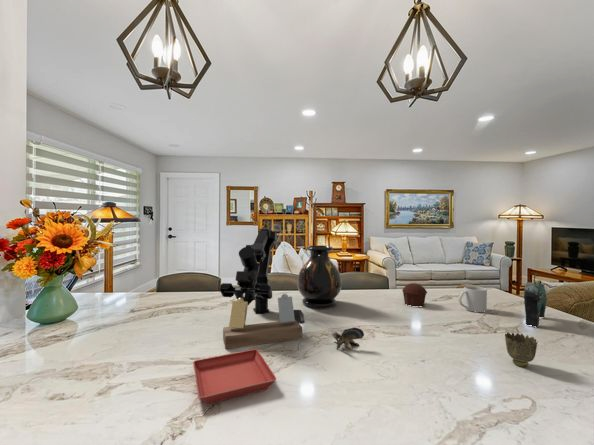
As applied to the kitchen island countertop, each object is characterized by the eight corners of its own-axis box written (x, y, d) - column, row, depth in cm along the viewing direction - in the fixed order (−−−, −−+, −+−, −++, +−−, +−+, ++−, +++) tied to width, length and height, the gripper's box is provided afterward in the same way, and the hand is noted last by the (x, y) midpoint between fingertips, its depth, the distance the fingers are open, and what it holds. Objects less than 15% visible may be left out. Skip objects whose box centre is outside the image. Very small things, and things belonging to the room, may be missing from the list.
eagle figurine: (349, 353, 88) (369, 340, 93) (337, 330, 91) (357, 319, 96) (336, 357, 94) (356, 345, 99) (326, 336, 97) (345, 325, 102)
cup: (539, 374, 79) (539, 344, 79) (505, 367, 83) (506, 338, 83) (534, 363, 85) (535, 335, 85) (503, 356, 89) (504, 330, 89)
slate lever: (279, 323, 104) (276, 294, 108) (293, 321, 106) (289, 293, 110) (281, 322, 102) (278, 293, 106) (295, 320, 104) (291, 292, 108)
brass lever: (230, 327, 100) (235, 297, 104) (245, 328, 99) (248, 298, 103) (228, 327, 98) (233, 296, 102) (242, 327, 97) (247, 297, 101)
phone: (301, 309, 131) (304, 321, 116) (301, 312, 131) (303, 324, 116) (283, 309, 131) (284, 321, 116) (283, 312, 131) (284, 324, 116)
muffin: (400, 300, 150) (400, 281, 149) (422, 301, 148) (423, 281, 148) (405, 307, 138) (405, 286, 138) (430, 308, 136) (430, 287, 136)
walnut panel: (223, 339, 101) (223, 327, 101) (294, 330, 109) (294, 319, 109) (225, 348, 93) (225, 336, 93) (302, 338, 102) (302, 327, 101)
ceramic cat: (539, 330, 111) (540, 277, 110) (518, 325, 116) (519, 274, 115) (549, 318, 124) (550, 271, 124) (530, 314, 129) (530, 269, 128)
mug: (486, 308, 136) (486, 287, 136) (486, 314, 128) (486, 291, 128) (459, 305, 142) (460, 284, 142) (458, 310, 134) (458, 288, 134)
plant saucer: (198, 412, 63) (198, 397, 63) (192, 372, 80) (192, 360, 80) (277, 392, 70) (277, 379, 70) (257, 359, 87) (257, 348, 87)
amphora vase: (344, 311, 132) (345, 249, 131) (296, 310, 132) (297, 248, 132) (338, 298, 153) (338, 244, 153) (297, 297, 154) (297, 244, 153)
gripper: (221, 261, 109) (207, 299, 98) (270, 262, 106) (262, 301, 95) (228, 278, 116) (217, 315, 105) (274, 280, 114) (268, 317, 103)
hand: (240, 312), depth 102 cm, fingers closed
